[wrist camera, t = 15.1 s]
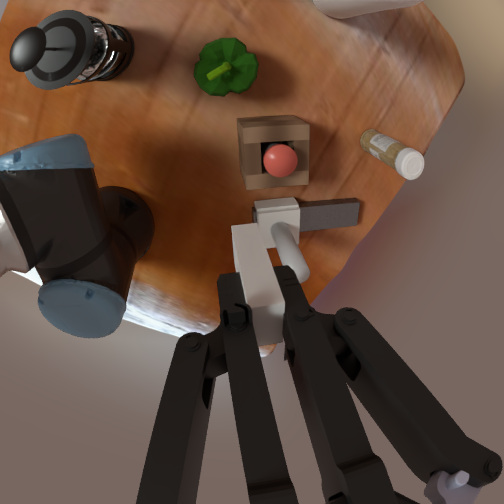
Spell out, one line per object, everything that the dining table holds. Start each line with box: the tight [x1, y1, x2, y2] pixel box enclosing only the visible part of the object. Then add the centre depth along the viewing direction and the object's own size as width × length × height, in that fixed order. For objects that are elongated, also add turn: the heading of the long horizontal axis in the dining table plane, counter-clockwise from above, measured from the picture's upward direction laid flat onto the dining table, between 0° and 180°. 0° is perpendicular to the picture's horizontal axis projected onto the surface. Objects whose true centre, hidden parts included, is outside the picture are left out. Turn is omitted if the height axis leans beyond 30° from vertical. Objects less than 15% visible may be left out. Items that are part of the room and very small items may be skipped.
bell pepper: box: [194, 38, 259, 96], centre depth 33 cm, size 8×8×10 cm
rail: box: [252, 198, 360, 232], centre depth 53 cm, size 20×5×2 cm, turn 93°
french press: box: [10, 10, 134, 90], centre depth 23 cm, size 12×9×23 cm
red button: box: [260, 141, 298, 177], centre depth 40 cm, size 4×4×8 cm
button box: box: [237, 115, 310, 190], centre depth 42 cm, size 9×9×8 cm
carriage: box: [254, 197, 310, 283], centre depth 47 cm, size 7×8×16 cm
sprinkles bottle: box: [360, 129, 424, 180], centre depth 41 cm, size 5×5×14 cm
